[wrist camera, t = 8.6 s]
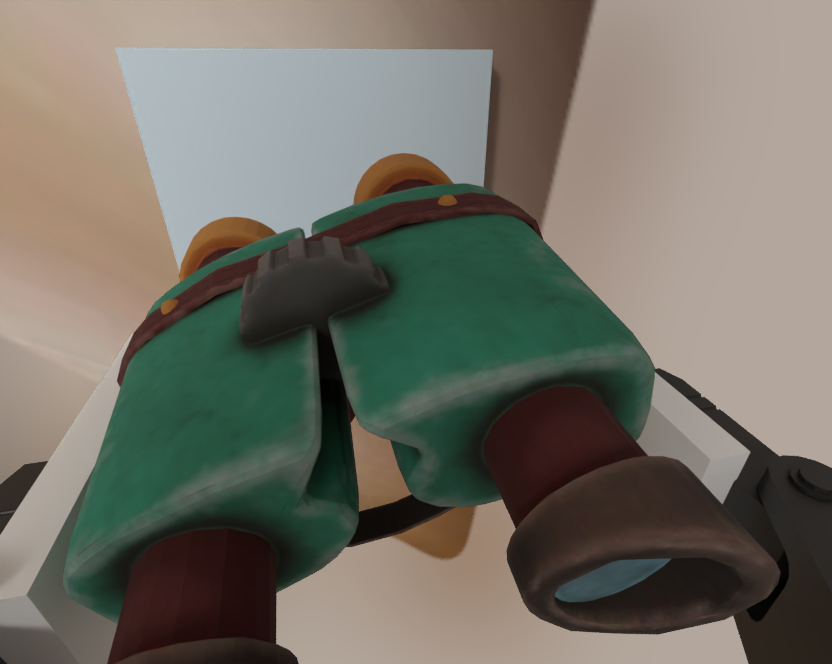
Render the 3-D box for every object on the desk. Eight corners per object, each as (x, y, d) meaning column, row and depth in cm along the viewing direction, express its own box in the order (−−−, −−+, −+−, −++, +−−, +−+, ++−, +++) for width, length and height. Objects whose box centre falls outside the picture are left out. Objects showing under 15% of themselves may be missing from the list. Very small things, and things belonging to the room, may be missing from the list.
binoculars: (306, 906, 8) (-586, 1000, 2) (291, 456, 17) (104, 210, 10) (748, 716, 8) (1108, 311, 2) (515, 368, 17) (461, 79, 11)
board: (127, 49, 18) (114, 47, 17) (481, 51, 21) (493, 49, 20) (214, 360, 25) (209, 375, 24) (465, 330, 28) (472, 342, 27)
